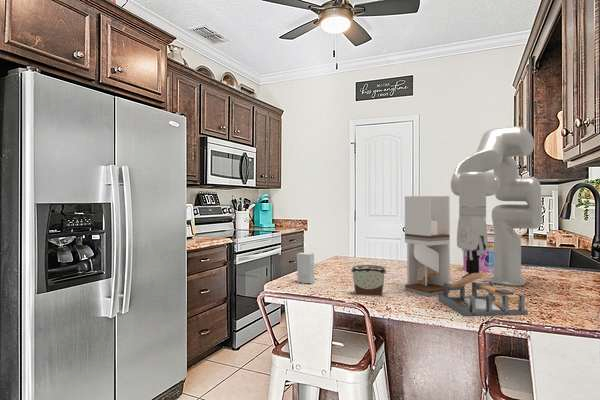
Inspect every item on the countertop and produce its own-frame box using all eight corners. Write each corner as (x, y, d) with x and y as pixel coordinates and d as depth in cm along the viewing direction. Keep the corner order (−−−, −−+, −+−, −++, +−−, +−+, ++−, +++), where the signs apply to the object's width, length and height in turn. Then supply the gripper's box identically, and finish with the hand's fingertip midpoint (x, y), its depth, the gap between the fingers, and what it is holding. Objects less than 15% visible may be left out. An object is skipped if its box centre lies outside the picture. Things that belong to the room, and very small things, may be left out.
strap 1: (447, 290, 130) (445, 284, 131) (459, 290, 131) (458, 284, 132) (472, 278, 114) (470, 270, 115) (486, 277, 114) (484, 270, 115)
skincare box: (315, 282, 159) (314, 252, 158) (310, 284, 155) (310, 254, 154) (301, 281, 161) (301, 252, 161) (296, 283, 157) (296, 253, 157)
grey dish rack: (437, 299, 130) (437, 282, 130) (492, 298, 132) (492, 281, 132) (465, 316, 112) (464, 296, 112) (527, 314, 114) (527, 294, 114)
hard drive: (464, 297, 129) (471, 307, 117) (490, 299, 128) (501, 309, 115) (464, 302, 129) (471, 313, 117) (490, 304, 128) (501, 315, 115)
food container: (386, 292, 141) (386, 265, 141) (386, 296, 135) (386, 267, 135) (352, 290, 144) (352, 263, 144) (351, 294, 138) (350, 266, 138)
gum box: (518, 271, 181) (518, 242, 181) (521, 274, 174) (521, 244, 174) (463, 268, 190) (463, 240, 190) (463, 271, 182) (463, 242, 182)
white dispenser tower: (405, 290, 145) (404, 196, 144) (425, 286, 150) (424, 196, 150) (429, 296, 135) (429, 196, 135) (449, 292, 140) (449, 196, 140)
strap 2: (474, 288, 132) (474, 282, 132) (487, 288, 132) (487, 282, 132) (507, 302, 114) (507, 294, 114) (521, 302, 114) (521, 294, 114)
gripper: (449, 211, 125) (449, 268, 125) (473, 213, 110) (473, 278, 110) (471, 211, 126) (471, 268, 126) (498, 213, 111) (498, 277, 111)
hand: (472, 272), depth 118 cm, fingers closed
